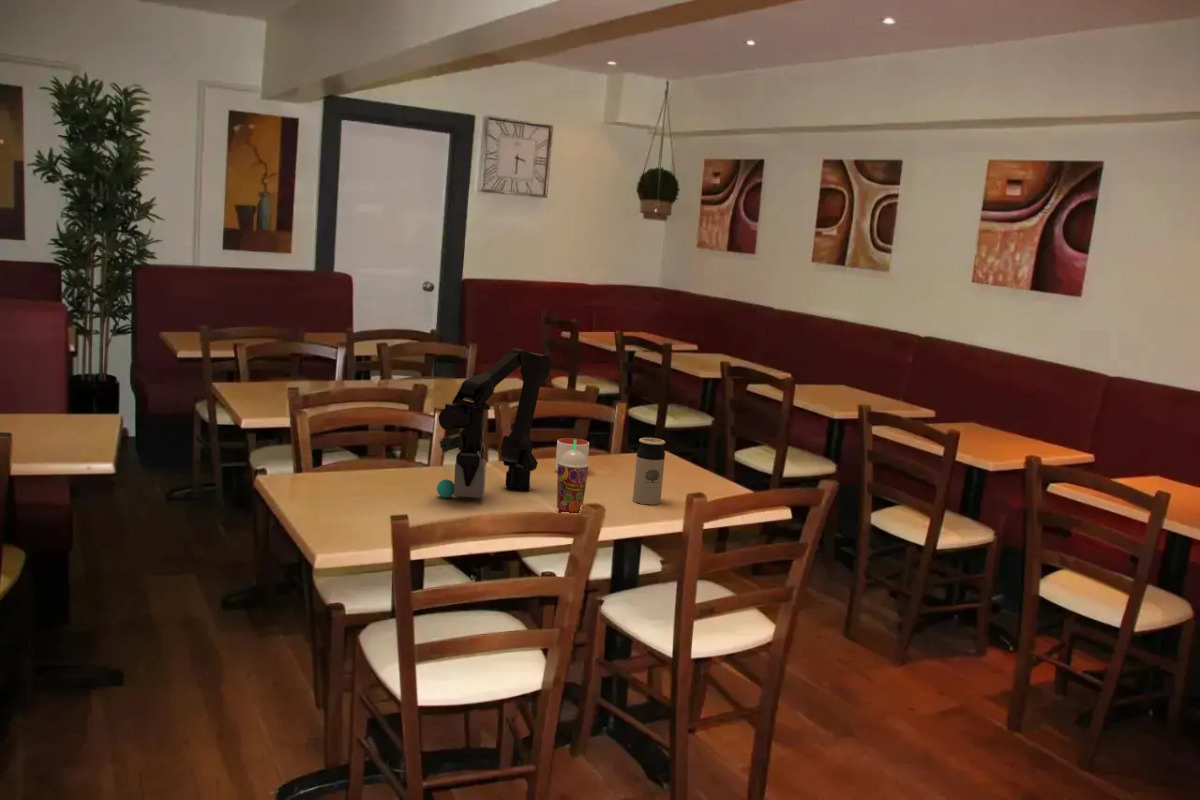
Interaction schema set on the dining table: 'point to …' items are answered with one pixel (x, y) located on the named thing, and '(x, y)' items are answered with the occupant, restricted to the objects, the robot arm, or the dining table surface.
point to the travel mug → (649, 471)
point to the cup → (570, 447)
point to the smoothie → (571, 480)
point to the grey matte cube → (476, 485)
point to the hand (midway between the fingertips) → (468, 482)
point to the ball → (445, 488)
